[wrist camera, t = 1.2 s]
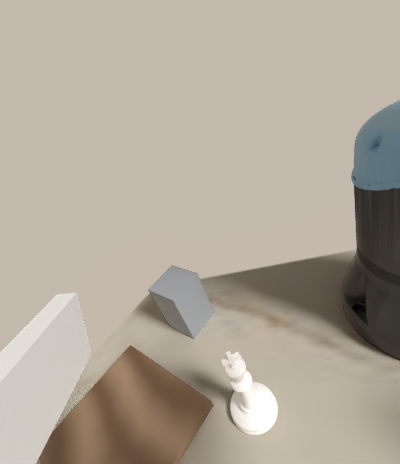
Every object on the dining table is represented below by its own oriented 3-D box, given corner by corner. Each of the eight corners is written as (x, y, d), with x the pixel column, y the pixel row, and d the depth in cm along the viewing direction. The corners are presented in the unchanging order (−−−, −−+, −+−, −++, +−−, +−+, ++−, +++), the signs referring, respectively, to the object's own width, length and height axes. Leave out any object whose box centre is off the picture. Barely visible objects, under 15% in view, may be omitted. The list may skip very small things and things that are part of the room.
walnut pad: (133, 349, 41) (130, 345, 40) (213, 404, 31) (210, 400, 31) (40, 455, 33) (35, 451, 32) (108, 576, 23) (102, 574, 22)
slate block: (190, 302, 45) (171, 265, 41) (214, 312, 42) (197, 273, 38) (170, 326, 42) (148, 289, 38) (194, 339, 39) (173, 300, 35)
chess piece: (287, 421, 28) (267, 365, 22) (241, 444, 27) (211, 393, 22) (263, 376, 32) (242, 320, 27) (224, 396, 31) (195, 343, 26)
